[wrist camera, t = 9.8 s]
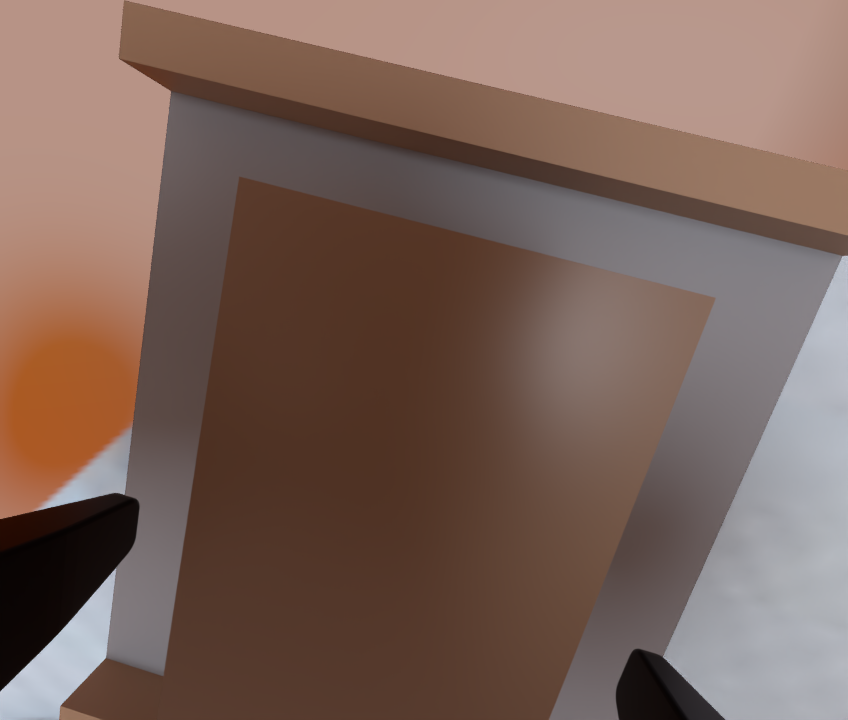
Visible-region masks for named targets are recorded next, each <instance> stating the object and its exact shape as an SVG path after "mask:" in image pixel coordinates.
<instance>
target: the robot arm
mask: <svg viewBox="0 0 848 720" xmlns="http://www.w3.org/2000/svg"><path fill="white" fill-rule="evenodd" d="M139 510H140V504H139V501H138V500H137V499H136V498H133V497H130V496H126V495H123V494H119V493H113V494H108V495H104V496H99V497H95V498H91V499H86V500H82V501H78V502H73V503H69V504H64V505H60V506H56V507H51V508H47V509H43V510H38V511H34V512H30V513H25V514H21V515H17V516H12V517H8V518H3V519H0V691H1V690H2V689H3V688H4V687H5V686H6V685H7V684H8V683H9V682H10V681H11V680H12V679H13V678H14V677H15V676H16V675H17V674H18V673H19V672H20V671H21V670H22V669H24V668H25V667H26V666H27V665H28V664H29V663H30V662H31V661H32V660H33V659H34V658H35V657H36V656H37V655H38V654H39V653H40V652H41V651H42V650H43V649H44V648H45V647H46V646H47V645H48V644H49V643H50V642H51V641H52V640H53V639H54V638H55V637H56V636H57V635H58V634H59V632H60V631H61V630H62V629H63V628H64V627H65V626H66V625H67V624H68V623H69V621H70V620H71V619H72V618H73V617H74V616H75V615H76V614H77V612H78V611H79V610H80V609H81V608H82V607H83V605H84V604H85V603H86V602H87V601H88V600H89V598H90V597H91V596H92V595H93V594H94V593H95V592H96V590H97V589H98V588H99V587H100V586H101V585H102V583H103V582H104V581H105V580H106V579H107V578H108V576H109V575H110V574H111V573H112V572H113V571H114V570H115V568H116V567H117V566H118V565H119V564H120V563H121V561H122V560H123V559H124V558H125V557H126V556H127V554H128V553H129V552H130V550H131V549H132V547H133V545H134V543H135V540H136V535H137V526H138V518H139ZM616 706H617V712H618V718H619V720H725V719H724V718H723V717H722V716H721V715H720V714H719V713H718V712H717V711H716V710H715V709H714V708H713V707H712V706H711V705H710V704H709V703H708V702H707V701H706V700H705V699H704V698H703V697H702V696H701V695H700V694H699V693H698V692H697V691H696V690H695V689H694V688H693V687H692V686H691V685H690V684H689V683H688V682H687V681H686V680H685V679H684V678H683V677H682V676H681V675H680V674H679V673H678V672H677V671H676V670H675V669H674V668H673V667H672V666H671V665H670V664H669V663H668V662H667V661H666V660H665V659H664V658H663V657H662V656H660V655H659V654H656V653H653V652H649V651H646V650H643V649H634V650H633V651H632V652H631V654H630V655H629V658H628V660H627V663H626V665H625V667H624V670H623V672H622V674H621V677H620V679H619V681H618V684H617V687H616Z"/></svg>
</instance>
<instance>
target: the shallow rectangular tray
mask: <svg viewBox="0 0 848 720" xmlns="http://www.w3.org/2000/svg"><path fill="white" fill-rule="evenodd" d="M119 59H120V60H122V61H124V62H125V63H127V64H128V65H130V66H132V67H133V68H135V69H137V70H138V71H140V72H141V73H143V74H145V75H146V76H148V77H150V78H151V79H153V80H154V81H156V82H158V83H159V84H161V85H162V86H164V87H166V88H167V89H169V90H170V91H171V99H170V107H169V116H168V124H167V134H166V142H165V151H164V159H163V169H162V176H161V185H160V194H159V203H158V211H157V220H156V229H155V238H154V246H153V255H152V263H151V272H150V281H149V290H148V298H147V308H146V316H145V324H144V334H143V342H142V351H141V359H140V368H139V376H138V385H137V394H136V403H135V411H134V420H133V429H132V437H131V446H130V455H129V463H128V472H127V481H126V490H125V495H126V496H130V497H133V498H136V499H137V500H138V501H139V504H140V510H139V518H138V526H137V535H136V540H135V543H134V545H133V547H132V549H131V550H130V552H129V553H128V554H127V556H126V557H125V558H124V559H123V560H122V561H121V563H120V564H119V565H118V566H117V568H116V577H115V585H114V594H113V603H112V611H111V620H110V629H109V637H108V646H107V655H106V659H105V660H104V661H103V662H102V663H101V664H100V665H99V666H98V667H97V668H96V669H95V670H94V671H93V672H92V673H91V674H90V676H89V677H88V678H87V679H86V680H85V681H84V682H83V683H82V684H81V685H80V686H79V687H78V688H77V689H76V690H75V691H74V692H73V693H72V694H71V695H70V696H69V698H68V699H67V700H66V701H65V702H64V703H63V704H62V705H61V706H60V717H59V720H157V715H158V709H159V702H160V695H161V689H162V682H163V676H164V669H165V662H166V656H167V649H168V643H169V636H170V629H171V623H172V616H173V610H174V603H175V596H176V590H177V583H178V577H179V570H180V563H181V557H182V550H183V544H184V537H185V531H186V524H187V517H188V511H189V504H190V498H191V491H192V484H193V478H194V471H195V465H196V458H197V451H198V445H199V438H200V432H201V425H202V418H203V412H204V405H205V399H206V392H207V385H208V379H209V372H210V366H211V359H212V352H213V346H214V339H215V333H216V326H217V319H218V313H219V306H220V300H221V293H222V287H223V280H224V273H225V267H226V260H227V254H228V247H229V240H230V234H231V227H232V221H233V214H234V207H235V201H236V194H237V188H238V181H239V177H243V178H247V179H251V180H255V181H259V182H263V183H267V184H271V185H275V186H279V187H283V188H287V189H291V190H294V191H298V192H302V193H306V194H310V195H314V196H318V197H322V198H326V199H330V200H334V201H338V202H342V203H345V204H349V205H353V206H357V207H361V208H365V209H369V210H373V211H377V212H381V213H385V214H389V215H393V216H397V217H400V218H404V219H408V220H412V221H416V222H420V223H424V224H428V225H432V226H436V227H440V228H444V229H448V230H451V231H455V232H459V233H463V234H467V235H471V236H475V237H479V238H483V239H487V240H491V241H495V242H499V243H502V244H506V245H510V246H514V247H518V248H522V249H526V250H530V251H534V252H538V253H542V254H546V255H550V256H554V257H557V258H561V259H565V260H569V261H573V262H577V263H581V264H585V265H589V266H593V267H597V268H601V269H605V270H608V271H612V272H616V273H620V274H624V275H628V276H632V277H636V278H640V279H644V280H648V281H652V282H656V283H660V284H663V285H667V286H671V287H675V288H679V289H683V290H687V291H691V292H695V293H699V294H703V295H707V296H711V297H714V298H716V299H715V302H714V304H713V307H712V309H711V312H710V314H709V317H708V319H707V322H706V325H705V327H704V330H703V332H702V335H701V337H700V340H699V342H698V345H697V347H696V350H695V352H694V355H693V357H692V360H691V362H690V365H689V367H688V370H687V372H686V375H685V378H684V380H683V383H682V385H681V388H680V390H679V393H678V395H677V398H676V400H675V403H674V405H673V408H672V410H671V413H670V415H669V418H668V420H667V423H666V426H665V428H664V431H663V433H662V436H661V438H660V441H659V443H658V446H657V448H656V451H655V453H654V456H653V458H652V461H651V463H650V466H649V468H648V471H647V473H646V476H645V479H644V481H643V484H642V486H641V489H640V491H639V494H638V496H637V499H636V501H635V504H634V506H633V509H632V511H631V514H630V516H629V519H628V521H627V524H626V527H625V529H624V532H623V534H622V537H621V539H620V542H619V544H618V547H617V549H616V552H615V554H614V557H613V559H612V562H611V564H610V567H609V569H608V572H607V574H606V577H605V580H604V582H603V585H602V587H601V590H600V592H599V595H598V597H597V600H596V602H595V605H594V607H593V610H592V612H591V615H590V617H589V620H588V622H587V625H586V627H585V630H584V633H583V635H582V638H581V640H580V643H579V645H578V648H577V650H576V653H575V655H574V658H573V660H572V663H571V665H570V668H569V670H568V673H567V675H566V678H565V681H564V683H563V686H562V688H561V691H560V693H559V696H558V698H557V701H556V703H555V706H554V708H553V711H552V713H551V716H550V718H549V720H619V718H618V712H617V706H616V687H617V684H618V681H619V679H620V677H621V674H622V672H623V670H624V667H625V665H626V663H627V660H628V658H629V655H630V654H631V652H632V651H633V650H634V649H643V650H646V651H649V652H653V653H656V654H659V655H660V656H662V657H663V655H664V653H665V651H666V648H667V646H668V644H669V642H670V639H671V637H672V635H673V633H674V630H675V628H676V626H677V624H678V622H679V619H680V617H681V615H682V613H683V610H684V608H685V606H686V604H687V601H688V599H689V597H690V595H691V593H692V590H693V588H694V586H695V584H696V581H697V579H698V577H699V575H700V572H701V570H702V568H703V566H704V564H705V561H706V559H707V557H708V555H709V552H710V550H711V548H712V546H713V543H714V541H715V539H716V537H717V535H718V532H719V530H720V528H721V526H722V523H723V521H724V519H725V517H726V515H727V512H728V510H729V508H730V506H731V503H732V501H733V499H734V497H735V494H736V492H737V490H738V488H739V486H740V483H741V481H742V479H743V477H744V474H745V472H746V470H747V468H748V465H749V463H750V461H751V459H752V457H753V454H754V452H755V450H756V448H757V445H758V443H759V441H760V439H761V436H762V434H763V432H764V430H765V428H766V425H767V423H768V421H769V419H770V416H771V414H772V412H773V410H774V407H775V405H776V403H777V401H778V399H779V396H780V394H781V392H782V390H783V387H784V385H785V383H786V381H787V379H788V376H789V374H790V372H791V370H792V367H793V365H794V363H795V361H796V358H797V356H798V354H799V352H800V350H801V347H802V345H803V343H804V341H805V338H806V336H807V334H808V332H809V329H810V327H811V325H812V323H813V321H814V318H815V316H816V314H817V312H818V309H819V307H820V305H821V303H822V300H823V298H824V296H825V294H826V292H827V289H828V287H829V285H830V283H831V280H832V278H833V276H834V274H835V271H836V269H837V267H838V265H839V263H840V260H841V258H842V256H848V171H847V170H843V169H839V168H835V167H831V166H826V165H822V164H818V163H814V162H809V161H805V160H801V159H797V158H792V157H788V156H784V155H779V154H775V153H771V152H767V151H763V150H758V149H754V148H750V147H745V146H741V145H737V144H733V143H728V142H724V141H720V140H716V139H711V138H707V137H703V136H699V135H694V134H690V133H686V132H682V131H677V130H673V129H669V128H665V127H660V126H656V125H652V124H647V123H643V122H639V121H635V120H631V119H626V118H622V117H618V116H614V115H609V114H605V113H601V112H597V111H592V110H588V109H584V108H580V107H575V106H571V105H567V104H562V103H558V102H553V101H549V100H545V99H541V98H537V97H533V96H529V95H524V94H520V93H516V92H512V91H507V90H503V89H499V88H494V87H490V86H486V85H482V84H478V83H473V82H469V81H465V80H460V79H456V78H452V77H447V76H444V75H439V74H435V73H431V72H426V71H422V70H418V69H414V68H409V67H405V66H401V65H397V64H392V63H388V62H383V61H380V60H375V59H371V58H367V57H362V56H358V55H354V54H350V53H346V52H341V51H337V50H333V49H329V48H324V47H320V46H316V45H312V44H307V43H303V42H299V41H295V40H290V39H286V38H282V37H277V36H273V35H269V34H264V33H261V32H256V31H252V30H248V29H244V28H239V27H235V26H231V25H227V24H222V23H218V22H214V21H209V20H205V19H201V18H197V17H193V16H188V15H184V14H180V13H176V12H171V11H167V10H163V9H158V8H154V7H150V6H146V5H141V4H137V3H132V2H129V1H124V7H123V19H122V29H121V41H120V52H119Z"/></svg>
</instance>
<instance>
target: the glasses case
mask: <svg viewBox="0 0 848 720" xmlns="http://www.w3.org/2000/svg"><path fill="white" fill-rule="evenodd" d="M715 299H716V298H714V297H711V296H707V295H703V294H699V293H695V292H691V291H687V290H683V289H679V288H675V287H671V286H667V285H663V284H660V283H656V282H652V281H648V280H644V279H640V278H636V277H632V276H628V275H624V274H620V273H616V272H612V271H608V270H605V269H601V268H597V267H593V266H589V265H585V264H581V263H577V262H573V261H569V260H565V259H561V258H557V257H554V256H550V255H546V254H542V253H538V252H534V251H530V250H526V249H522V248H518V247H514V246H510V245H506V244H502V243H499V242H495V241H491V240H487V239H483V238H479V237H475V236H471V235H467V234H463V233H459V232H455V231H451V230H448V229H444V228H440V227H436V226H432V225H428V224H424V223H420V222H416V221H412V220H408V219H404V218H400V217H397V216H393V215H389V214H385V213H381V212H377V211H373V210H369V209H365V208H361V207H357V206H353V205H349V204H345V203H342V202H338V201H334V200H330V199H326V198H322V197H318V196H314V195H310V194H306V193H302V192H298V191H294V190H291V189H287V188H283V187H279V186H275V185H271V184H267V183H263V182H259V181H255V180H251V179H247V178H243V177H239V181H238V188H237V194H236V201H235V207H234V214H233V221H232V227H231V234H230V240H229V247H228V254H227V260H226V267H225V273H224V280H223V287H222V293H221V300H220V306H219V313H218V319H217V326H216V333H215V339H214V346H213V352H212V359H211V366H210V372H209V379H208V385H207V392H206V399H205V405H204V412H203V418H202V425H201V432H200V438H199V445H198V451H197V458H196V465H195V471H194V478H193V484H192V491H191V498H190V504H189V511H188V517H187V524H186V531H185V537H184V544H183V550H182V557H181V563H180V570H179V577H178V583H177V590H176V596H175V603H174V610H173V616H172V623H171V629H170V636H169V643H168V649H167V656H166V662H165V669H164V676H163V682H162V689H161V695H160V702H159V709H158V715H157V720H549V718H550V716H551V713H552V711H553V708H554V706H555V703H556V701H557V698H558V696H559V693H560V691H561V688H562V686H563V683H564V681H565V678H566V675H567V673H568V670H569V668H570V665H571V663H572V660H573V658H574V655H575V653H576V650H577V648H578V645H579V643H580V640H581V638H582V635H583V633H584V630H585V627H586V625H587V622H588V620H589V617H590V615H591V612H592V610H593V607H594V605H595V602H596V600H597V597H598V595H599V592H600V590H601V587H602V585H603V582H604V580H605V577H606V574H607V572H608V569H609V567H610V564H611V562H612V559H613V557H614V554H615V552H616V549H617V547H618V544H619V542H620V539H621V537H622V534H623V532H624V529H625V527H626V524H627V521H628V519H629V516H630V514H631V511H632V509H633V506H634V504H635V501H636V499H637V496H638V494H639V491H640V489H641V486H642V484H643V481H644V479H645V476H646V473H647V471H648V468H649V466H650V463H651V461H652V458H653V456H654V453H655V451H656V448H657V446H658V443H659V441H660V438H661V436H662V433H663V431H664V428H665V426H666V423H667V420H668V418H669V415H670V413H671V410H672V408H673V405H674V403H675V400H676V398H677V395H678V393H679V390H680V388H681V385H682V383H683V380H684V378H685V375H686V372H687V370H688V367H689V365H690V362H691V360H692V357H693V355H694V352H695V350H696V347H697V345H698V342H699V340H700V337H701V335H702V332H703V330H704V327H705V325H706V322H707V319H708V317H709V314H710V312H711V309H712V307H713V304H714V302H715Z"/></svg>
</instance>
